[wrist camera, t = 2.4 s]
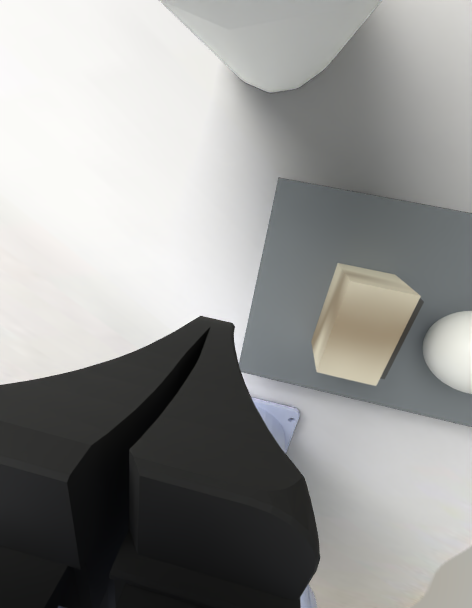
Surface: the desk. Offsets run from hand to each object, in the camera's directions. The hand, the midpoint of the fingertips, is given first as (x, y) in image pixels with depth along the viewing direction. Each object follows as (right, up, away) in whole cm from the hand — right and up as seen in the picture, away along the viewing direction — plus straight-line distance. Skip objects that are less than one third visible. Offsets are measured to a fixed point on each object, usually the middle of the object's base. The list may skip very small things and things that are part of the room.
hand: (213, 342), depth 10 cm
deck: (+13, +1, +7) cm, 14 cm away
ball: (+12, -1, +3) cm, 13 cm away
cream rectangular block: (+7, +1, +5) cm, 9 cm away
